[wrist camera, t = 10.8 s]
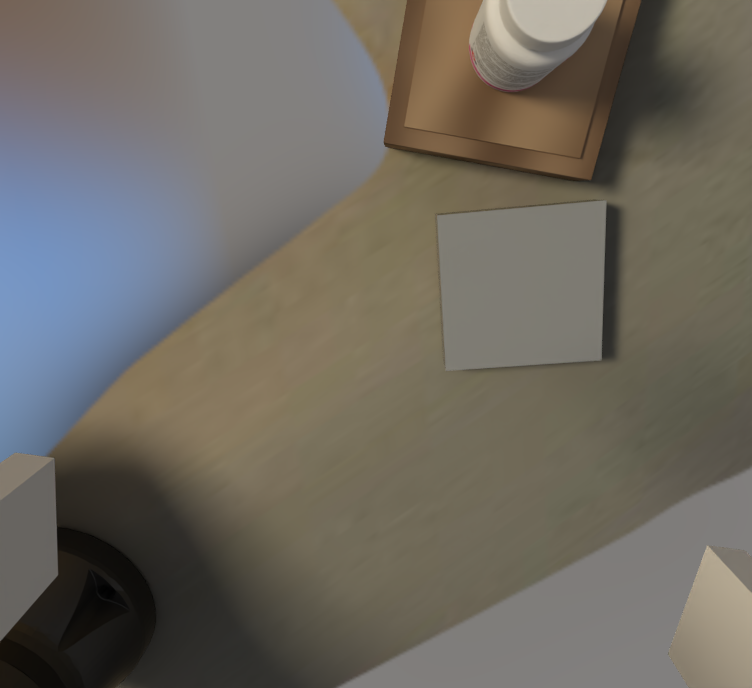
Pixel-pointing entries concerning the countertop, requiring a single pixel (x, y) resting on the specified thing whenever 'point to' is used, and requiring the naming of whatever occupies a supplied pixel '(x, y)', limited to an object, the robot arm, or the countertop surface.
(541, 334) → the slate tile
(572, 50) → the pill bottle
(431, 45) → the walnut stand
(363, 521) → the countertop surface
